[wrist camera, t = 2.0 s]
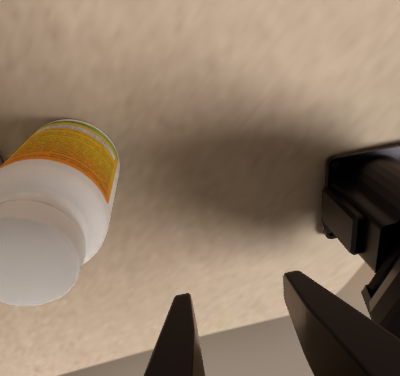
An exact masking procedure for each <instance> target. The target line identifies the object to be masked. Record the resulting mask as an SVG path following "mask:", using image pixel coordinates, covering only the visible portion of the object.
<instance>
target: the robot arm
mask: <svg viewBox="0 0 400 376" xmlns="http://www.w3.org/2000/svg"><path fill="white" fill-rule="evenodd" d="M334 162H337V163H336V165H335V166H332V165H333V163H334ZM322 221H323V222H324V230H323V232H324V234H325V236H326V237H327V238H329V239H334V238H338V239H339V241H340V242H341V243H342V244H343V245H344V246H345V248H346V249H347V250H348V251H349V252H350V253H351V254H353V255H356V254H359V255H360V256H361V257H362V259H363V260H364V261H365V262H366V263H367V264H368V265H369V266H370V267H371V269H372V270H373V271H374V272H375V273H376V274H375V275H374V277H373V278H372V280H371V281H370V283H369V284H368V285H365V287H364V289H363V290H362V291H361V293H362V296H363V298H364V301H365V304H366V306H367V309H368V312H369V314H370V317H371V319H372V320H370V319H369V318H368V317H366V316H365V315H363V314H362V313H361V312H359V311H358V310H356V309H355V308H353V307H352V306H350V305H349V304H347V303H346V302H344V301H343V300H341V299H340V298H339V297H337V296H336V295H334V294H333V293H331V292H330V291H328V290H327V289H325V288H324V287H322V286H321V285H319V284H318V283H316V282H315V281H314V280H312V279H311V278H309V277H308V276H306V275H305V274H303V273H302V272H300V271H292V272H287V273H285V274H284V276H283V285H284V299H285V303H286V306H287V308H288V311H289V314H290V317H291V319H292V322H293V325H294V328H295V330H296V333H297V336H298V338H299V341H300V344H301V347H302V349H303V352H304V354H305V357H306V359H307V361H308V363H309V366H310V368H311V369H312V372H313V374H314V376H400V144H395V145H390V146H384V147H379V148H373V149H368V150H363V151H357V152H352V153H347V154H341V155H336V156H332V157H330V158H329V159H328V160H327V162H326V175H325V187H324V189H323V191H322ZM331 231H332V232H331ZM330 232H331V233H330ZM144 376H205V372H204V366H203V360H202V354H201V348H200V342H199V336H198V330H197V324H196V318H195V313H194V309H193V304H192V299H191V295H190V294H189V293H186V294H181V295H177V296H175V297H174V299H173V302H172V305H171V307H170V310H169V312H168V315H167V317H166V320H165V322H164V325H163V327H162V330H161V333H160V335H159V338H158V340H157V343H156V345H155V348H154V351H153V353H152V356H151V358H150V361H149V363H148V366H147V369H146V371H145V373H144Z"/></svg>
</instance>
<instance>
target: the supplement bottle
mask: <svg viewBox="0 0 400 376" xmlns="http://www.w3.org/2000/svg"><path fill="white" fill-rule="evenodd" d="M119 172H120V160H119V156H118V152H117V150H116V148H115V146H114V144H113V143H112V141H111V140H110V139H109V137H108V136H107V135H106V134H105V133H104V132H103V131H101V130H100V129H98V128H97V127H95V126H94V125H92V124H89V123H86V122H83V121H80V120H74V119H62V120H56V121H53V122H50V123H48V124H45V125H44V126H42V127H41V128H39V129H38V130H37V131H36V132H34V133H33V134H32V135H31V136H30V137H29V138H28V139H27V140H26V141H25V142H24V143H23V144H22V146H20V147H19V148H18V149H17V150H16V151H15V152H14V153H13V154H12V155H11V156H10V157H9V158H8V159H7V160H6V161H5V162H4V163H3V164H2V165H1V166H0V302H1V303H4V304H9V305H14V306H37V305H43V304H46V303H49V302H52V301H55V300H57V299H58V298H60V297H62V296H64V295H65V294H66V293H67V292H68V291H69V290H70V289H71V288H72V287H73V286H74V284H75V283H76V281H77V279H78V277H79V274H80V270H81V267H82V265H83V264H84V263H86V262H87V261H89V260H90V259H91V258H92V257H93V256H94V255H95V254H96V253H97V252H98V251H99V249H100V248H101V246H102V244H103V242H104V240H105V237H106V235H107V232H108V228H109V224H110V219H111V214H112V208H113V203H114V198H115V194H116V189H117V184H118V179H119Z"/></svg>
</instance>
